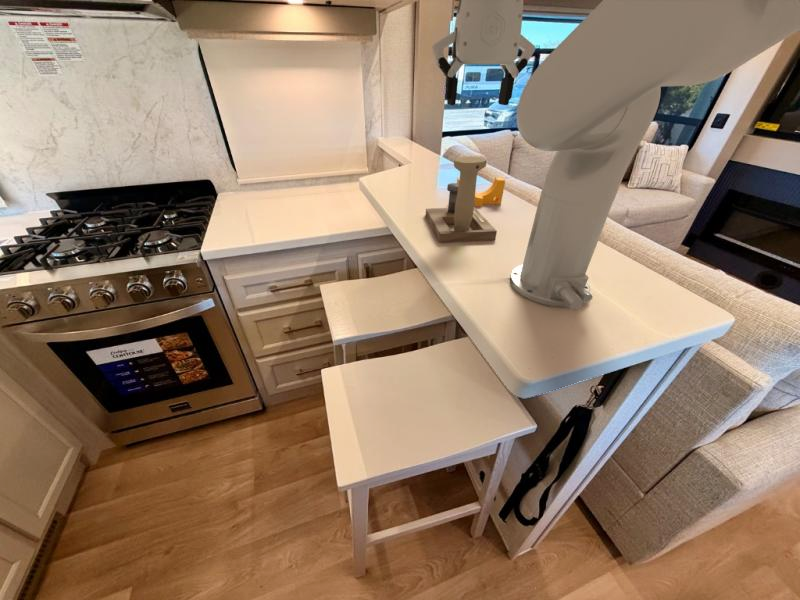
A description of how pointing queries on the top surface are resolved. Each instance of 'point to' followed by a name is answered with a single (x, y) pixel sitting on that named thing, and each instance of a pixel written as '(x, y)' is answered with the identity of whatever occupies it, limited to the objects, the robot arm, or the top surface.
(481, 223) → the plate
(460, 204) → the handle
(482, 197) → the pipe clamp
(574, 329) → the top surface
